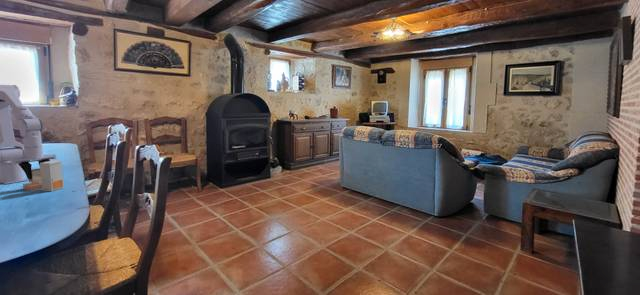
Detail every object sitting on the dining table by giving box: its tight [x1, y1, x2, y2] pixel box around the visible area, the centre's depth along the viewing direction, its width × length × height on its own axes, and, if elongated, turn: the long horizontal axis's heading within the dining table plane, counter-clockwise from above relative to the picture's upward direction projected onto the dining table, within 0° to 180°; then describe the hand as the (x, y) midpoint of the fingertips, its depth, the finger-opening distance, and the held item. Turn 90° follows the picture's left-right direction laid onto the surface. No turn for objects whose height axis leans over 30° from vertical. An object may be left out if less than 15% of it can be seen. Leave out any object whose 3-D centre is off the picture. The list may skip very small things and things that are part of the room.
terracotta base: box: [22, 182, 42, 192], centre depth 130 cm, size 7×7×2 cm
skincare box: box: [39, 160, 65, 192], centre depth 127 cm, size 6×4×12 cm
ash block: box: [28, 168, 41, 183], centre depth 129 cm, size 4×4×5 cm
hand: (36, 177), depth 129 cm, fingers closed on ash block, 4 cm apart
